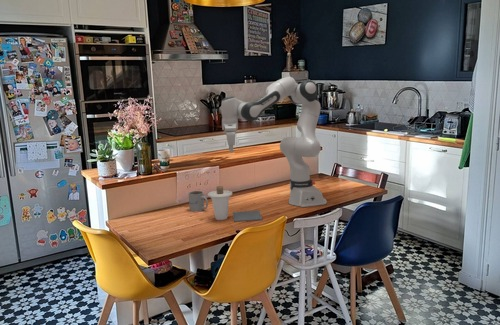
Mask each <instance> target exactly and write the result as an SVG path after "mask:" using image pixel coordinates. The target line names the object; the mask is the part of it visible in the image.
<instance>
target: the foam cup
mask: <svg viewBox="0 0 500 325" xmlns="http://www.w3.org/2000/svg"><path fill="white" fill-rule="evenodd" d="M210 199H211V202H212V208H213V212H214V218H215V220H217V221H223V220H224V221H225V220H226V219H227V220H228V215H229V204H230V202H229V201H230V197H227V198H210Z"/></svg>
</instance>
